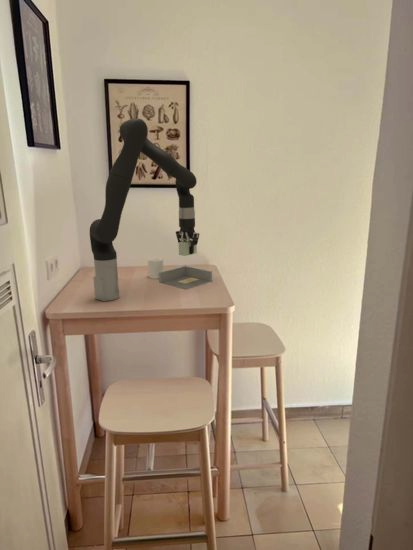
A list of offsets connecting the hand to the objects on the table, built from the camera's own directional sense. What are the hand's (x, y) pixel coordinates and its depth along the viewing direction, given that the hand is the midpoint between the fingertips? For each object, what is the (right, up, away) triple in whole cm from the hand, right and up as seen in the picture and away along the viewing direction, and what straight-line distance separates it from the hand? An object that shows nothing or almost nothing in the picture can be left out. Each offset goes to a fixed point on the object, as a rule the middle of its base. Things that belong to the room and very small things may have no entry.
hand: (187, 253), depth 180 cm
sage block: (0, 0, 0) cm, 0 cm away
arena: (-1, -14, +2) cm, 15 cm away
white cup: (-17, -12, +11) cm, 23 cm away
